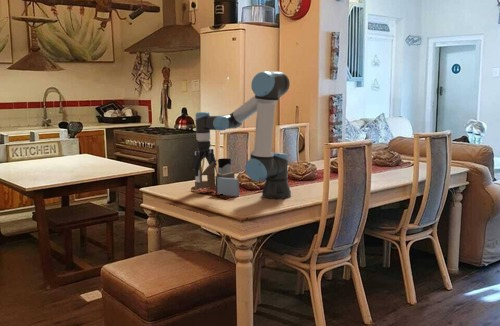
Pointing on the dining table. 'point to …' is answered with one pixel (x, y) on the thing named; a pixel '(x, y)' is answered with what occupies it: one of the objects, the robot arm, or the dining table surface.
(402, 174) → the dining table surface
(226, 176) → the notched wooden plank
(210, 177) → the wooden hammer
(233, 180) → the door
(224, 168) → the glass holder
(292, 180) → the dining table surface
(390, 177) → the dining table surface
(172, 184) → the dining table surface
